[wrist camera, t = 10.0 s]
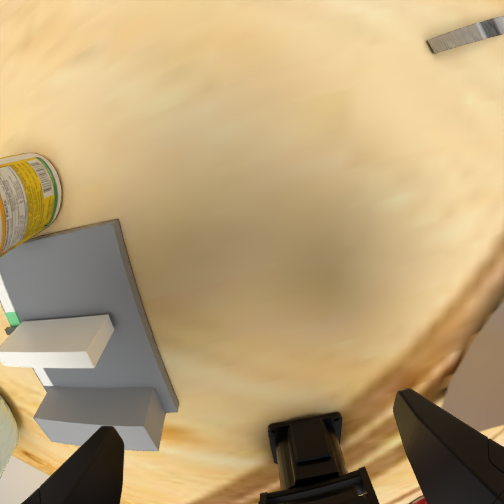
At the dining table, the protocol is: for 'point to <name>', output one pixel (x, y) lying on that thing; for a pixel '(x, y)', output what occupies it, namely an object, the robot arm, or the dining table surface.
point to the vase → (6, 434)
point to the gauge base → (117, 349)
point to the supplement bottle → (26, 198)
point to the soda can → (420, 501)
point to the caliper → (468, 34)
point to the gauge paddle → (57, 342)
